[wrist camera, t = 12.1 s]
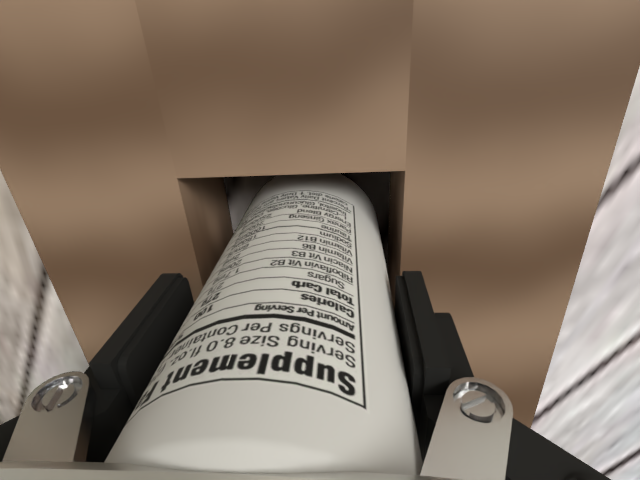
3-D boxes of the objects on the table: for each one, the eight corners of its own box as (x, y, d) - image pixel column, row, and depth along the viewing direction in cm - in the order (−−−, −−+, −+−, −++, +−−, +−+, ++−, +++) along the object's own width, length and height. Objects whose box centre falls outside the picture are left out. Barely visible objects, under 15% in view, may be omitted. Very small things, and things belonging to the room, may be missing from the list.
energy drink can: (269, 281, 20) (124, 750, 7) (236, 173, 17) (-109, 600, 4) (383, 266, 19) (471, 767, 6) (367, 150, 17) (463, 590, 3)
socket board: (492, 375, 22) (524, 448, 18) (160, 371, 24) (122, 438, 20) (582, -54, 13) (688, -97, 9) (30, -11, 15) (-91, -30, 11)
